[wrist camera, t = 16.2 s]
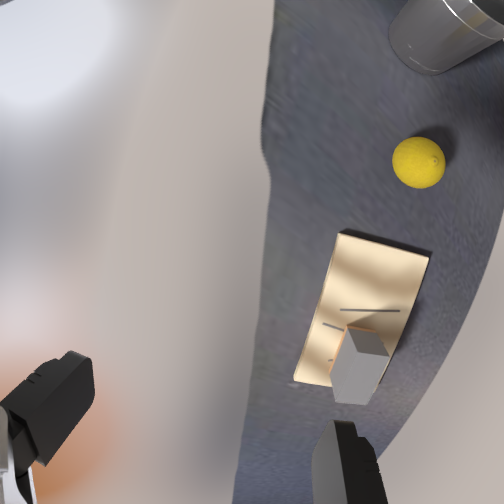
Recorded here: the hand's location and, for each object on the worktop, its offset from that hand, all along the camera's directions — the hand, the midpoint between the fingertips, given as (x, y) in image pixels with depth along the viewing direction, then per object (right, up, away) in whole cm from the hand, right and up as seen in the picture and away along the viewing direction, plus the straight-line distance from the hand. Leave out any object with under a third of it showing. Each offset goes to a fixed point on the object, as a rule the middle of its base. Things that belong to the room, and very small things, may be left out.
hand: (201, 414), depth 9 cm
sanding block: (+14, -8, +28) cm, 32 cm away
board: (+15, -3, +28) cm, 32 cm away
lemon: (+19, +16, +24) cm, 34 cm away
